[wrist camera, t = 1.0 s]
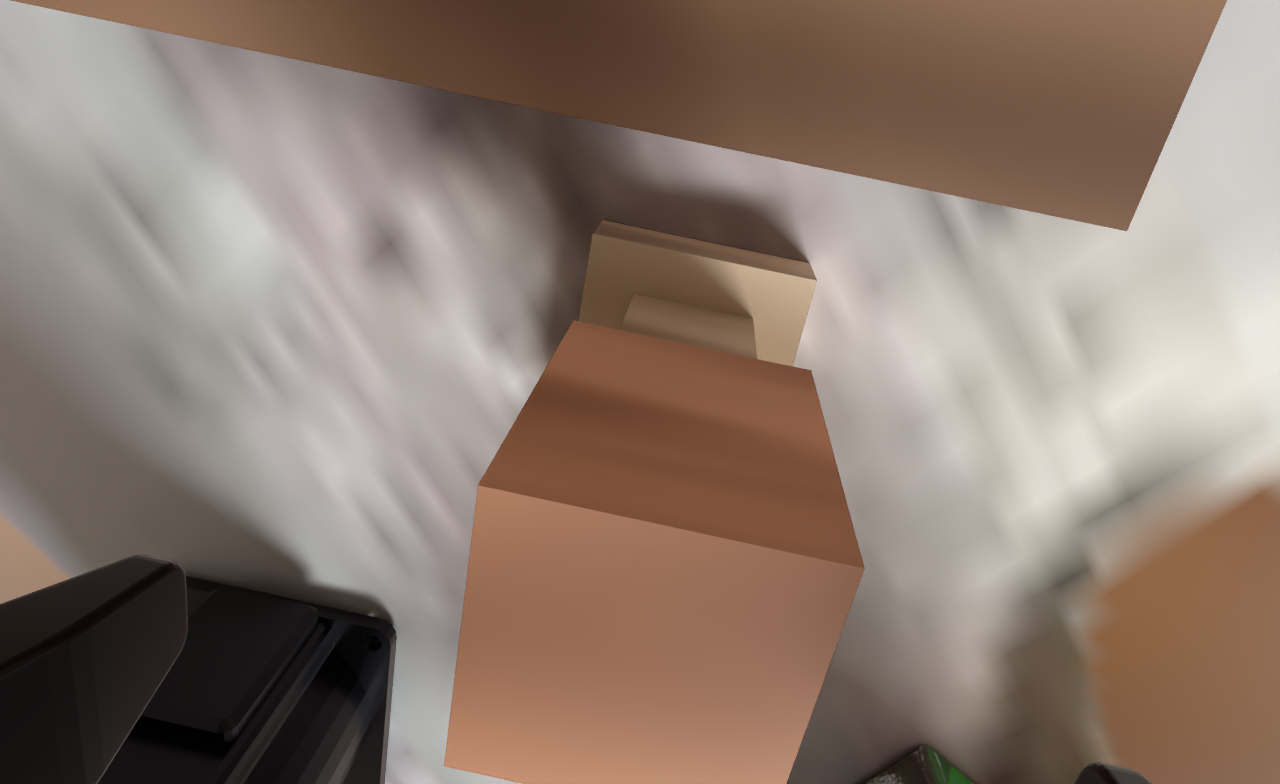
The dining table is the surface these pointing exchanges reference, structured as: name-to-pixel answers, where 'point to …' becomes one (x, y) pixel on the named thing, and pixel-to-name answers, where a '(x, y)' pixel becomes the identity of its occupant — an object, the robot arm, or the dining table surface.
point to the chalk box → (921, 770)
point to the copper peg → (658, 535)
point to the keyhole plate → (787, 77)
